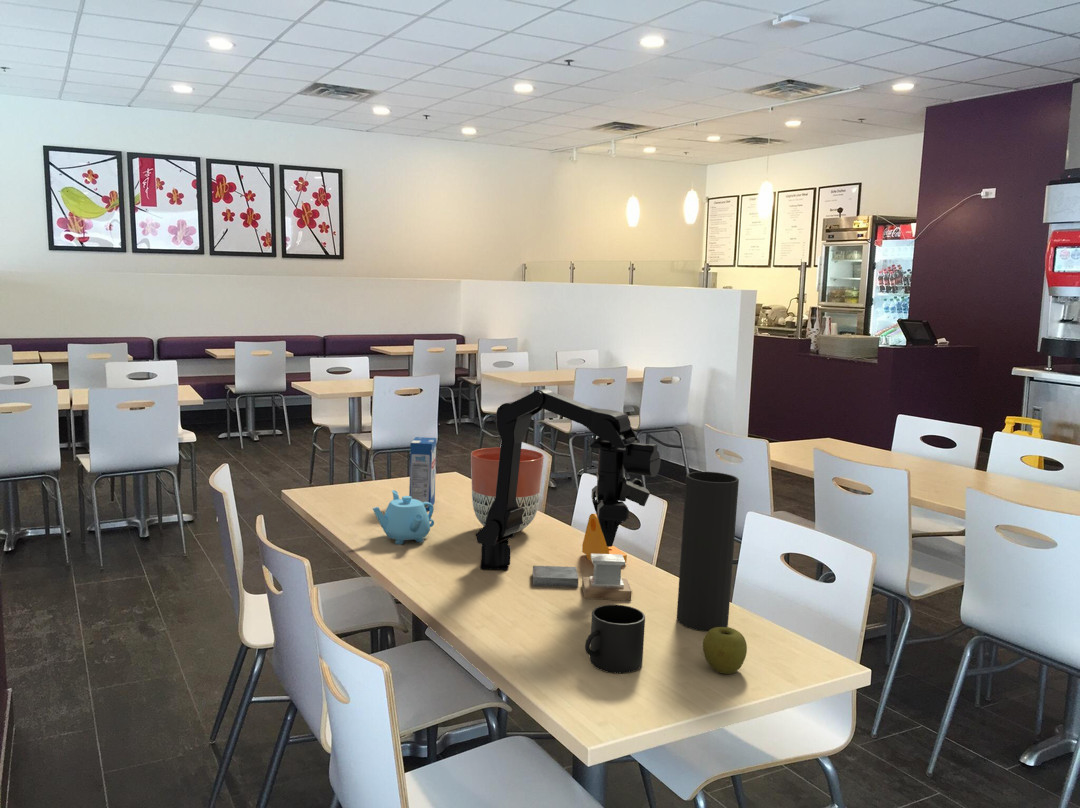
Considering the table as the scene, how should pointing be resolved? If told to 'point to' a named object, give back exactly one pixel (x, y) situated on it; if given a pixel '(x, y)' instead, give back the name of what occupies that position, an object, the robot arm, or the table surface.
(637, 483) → the robot arm
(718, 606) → the vase
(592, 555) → the block
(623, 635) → the mug
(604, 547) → the bracket
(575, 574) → the stand
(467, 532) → the table surface
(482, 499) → the planter
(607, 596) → the stand
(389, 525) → the teapot
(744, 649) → the apple
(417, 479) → the milk carton
